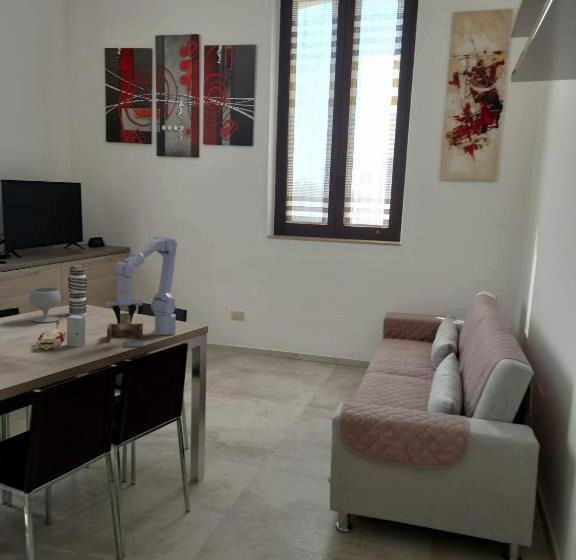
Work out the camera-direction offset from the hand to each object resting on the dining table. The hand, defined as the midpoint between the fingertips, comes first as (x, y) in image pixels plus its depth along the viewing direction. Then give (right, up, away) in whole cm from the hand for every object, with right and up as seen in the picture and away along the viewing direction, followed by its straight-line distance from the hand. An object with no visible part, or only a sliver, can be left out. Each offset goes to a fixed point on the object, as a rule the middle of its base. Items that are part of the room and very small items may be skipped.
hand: (124, 323), depth 231 cm
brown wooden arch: (-2, -8, +9) cm, 12 cm away
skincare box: (-19, -9, -4) cm, 21 cm away
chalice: (-49, -2, +35) cm, 60 cm away
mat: (+4, -9, 0) cm, 10 cm away
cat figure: (-29, -9, -2) cm, 30 cm away
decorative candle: (-39, 0, +51) cm, 64 cm away
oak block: (0, -2, 0) cm, 2 cm away
